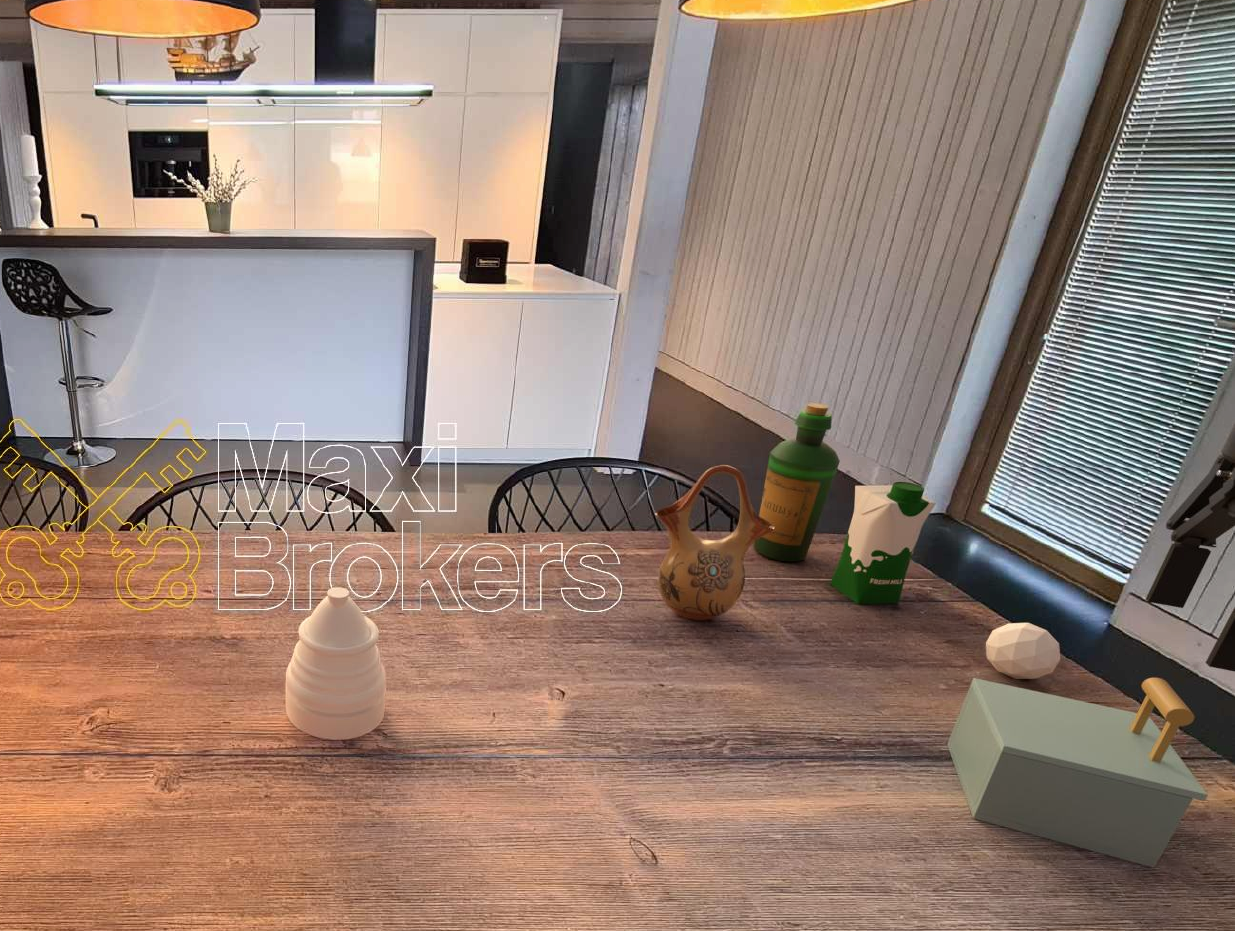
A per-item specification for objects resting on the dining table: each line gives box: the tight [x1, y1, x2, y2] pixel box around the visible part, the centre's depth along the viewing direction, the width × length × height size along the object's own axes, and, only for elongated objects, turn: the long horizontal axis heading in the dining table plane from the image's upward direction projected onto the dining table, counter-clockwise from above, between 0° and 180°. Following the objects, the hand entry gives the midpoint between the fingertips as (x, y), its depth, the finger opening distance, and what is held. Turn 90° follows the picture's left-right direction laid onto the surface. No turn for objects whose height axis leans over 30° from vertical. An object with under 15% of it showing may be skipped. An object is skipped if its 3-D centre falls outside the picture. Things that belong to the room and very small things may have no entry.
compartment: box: [946, 684, 1193, 869], centre depth 88 cm, size 15×14×9 cm
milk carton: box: [829, 481, 937, 605], centre depth 130 cm, size 9×9×20 cm
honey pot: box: [285, 586, 388, 741], centre depth 101 cm, size 13×13×18 cm
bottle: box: [753, 402, 841, 563], centre depth 143 cm, size 11×11×28 cm
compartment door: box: [970, 677, 1208, 802], centre depth 85 cm, size 16×14×7 cm
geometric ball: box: [985, 622, 1061, 680], centre depth 111 cm, size 8×8×8 cm
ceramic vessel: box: [654, 464, 774, 621], centre depth 122 cm, size 16×9×25 cm, turn 73°
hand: (1193, 634), depth 79 cm, fingers open, 13 cm apart
